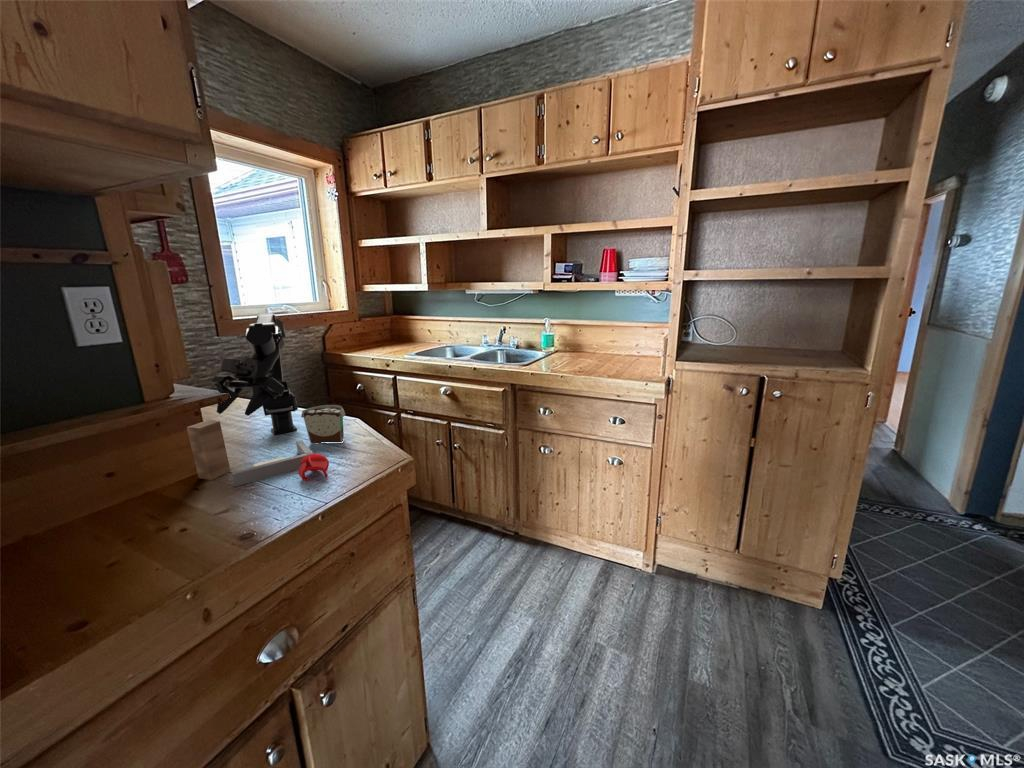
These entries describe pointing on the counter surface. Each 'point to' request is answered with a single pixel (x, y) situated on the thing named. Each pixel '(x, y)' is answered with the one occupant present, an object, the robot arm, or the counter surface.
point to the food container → (324, 423)
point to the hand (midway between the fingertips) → (232, 414)
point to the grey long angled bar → (271, 467)
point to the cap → (313, 465)
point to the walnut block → (208, 449)
